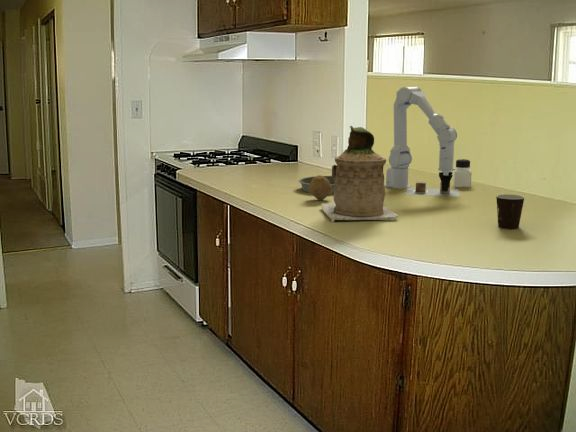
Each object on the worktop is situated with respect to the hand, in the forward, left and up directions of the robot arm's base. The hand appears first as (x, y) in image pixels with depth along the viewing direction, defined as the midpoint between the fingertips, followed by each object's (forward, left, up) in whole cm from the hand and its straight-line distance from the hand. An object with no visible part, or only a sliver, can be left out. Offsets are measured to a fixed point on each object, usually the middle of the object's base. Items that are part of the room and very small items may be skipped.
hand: (445, 190), depth 270 cm
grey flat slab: (-4, -3, -1) cm, 5 cm away
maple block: (0, 0, -1) cm, 1 cm away
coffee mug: (+53, -33, -2) cm, 63 cm away
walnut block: (-8, -6, -1) cm, 10 cm away
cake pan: (-40, -31, -2) cm, 51 cm away
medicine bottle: (-7, +20, -2) cm, 21 cm away
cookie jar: (+7, -56, -2) cm, 57 cm away
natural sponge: (-23, -49, -2) cm, 54 cm away
